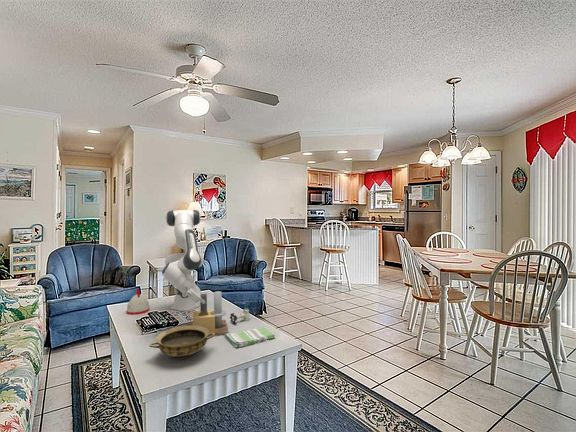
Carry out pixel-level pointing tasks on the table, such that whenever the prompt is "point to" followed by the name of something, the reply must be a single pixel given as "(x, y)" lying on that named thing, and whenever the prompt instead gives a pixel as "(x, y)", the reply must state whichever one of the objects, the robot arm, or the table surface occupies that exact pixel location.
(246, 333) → the dish towel
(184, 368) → the table surface
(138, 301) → the kitchen timer
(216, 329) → the base board
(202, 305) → the square peg
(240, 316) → the valve
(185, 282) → the robot arm
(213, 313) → the square hole block
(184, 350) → the ceramic bowl
